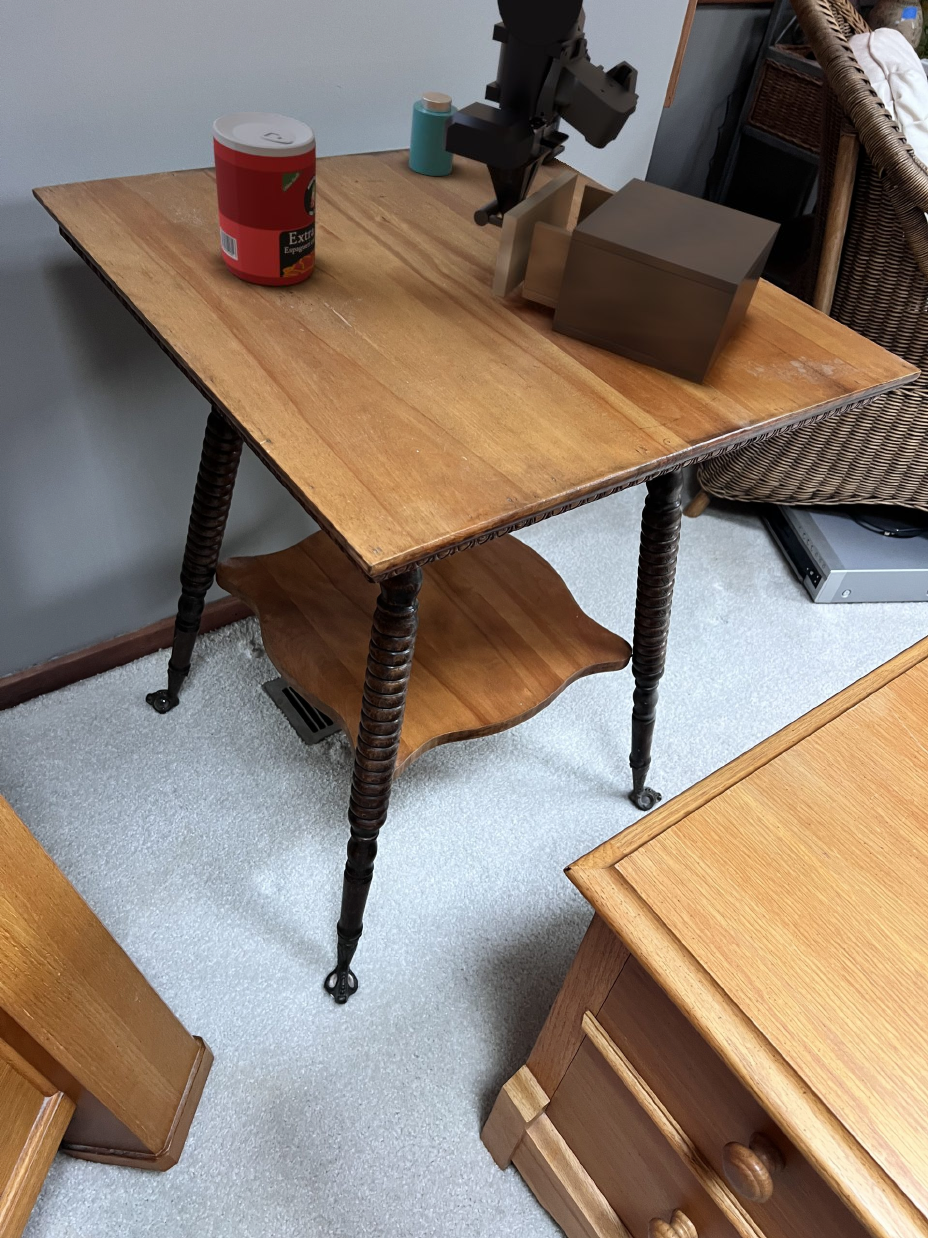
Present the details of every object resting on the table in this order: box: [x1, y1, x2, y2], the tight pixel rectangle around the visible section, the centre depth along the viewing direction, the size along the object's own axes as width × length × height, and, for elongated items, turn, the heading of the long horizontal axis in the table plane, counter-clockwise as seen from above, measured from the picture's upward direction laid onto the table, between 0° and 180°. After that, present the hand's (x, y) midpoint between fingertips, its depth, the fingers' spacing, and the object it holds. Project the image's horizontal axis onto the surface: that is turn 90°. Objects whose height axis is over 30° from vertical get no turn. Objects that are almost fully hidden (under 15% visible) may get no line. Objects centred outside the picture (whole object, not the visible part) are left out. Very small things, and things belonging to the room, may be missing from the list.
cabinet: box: [550, 177, 782, 386], centre depth 74 cm, size 14×15×9 cm
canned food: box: [212, 111, 317, 287], centre depth 71 cm, size 8×8×11 cm
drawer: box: [473, 169, 617, 310], centre depth 76 cm, size 17×13×7 cm
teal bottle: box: [408, 91, 459, 177], centre depth 93 cm, size 5×5×7 cm
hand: (509, 219), depth 77 cm, fingers closed, pressing on drawer
